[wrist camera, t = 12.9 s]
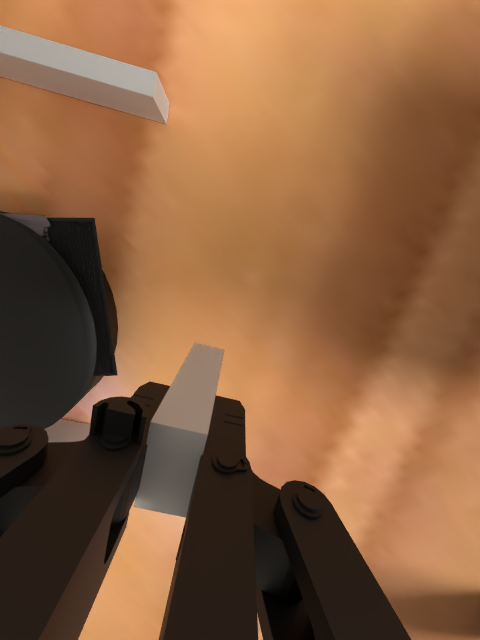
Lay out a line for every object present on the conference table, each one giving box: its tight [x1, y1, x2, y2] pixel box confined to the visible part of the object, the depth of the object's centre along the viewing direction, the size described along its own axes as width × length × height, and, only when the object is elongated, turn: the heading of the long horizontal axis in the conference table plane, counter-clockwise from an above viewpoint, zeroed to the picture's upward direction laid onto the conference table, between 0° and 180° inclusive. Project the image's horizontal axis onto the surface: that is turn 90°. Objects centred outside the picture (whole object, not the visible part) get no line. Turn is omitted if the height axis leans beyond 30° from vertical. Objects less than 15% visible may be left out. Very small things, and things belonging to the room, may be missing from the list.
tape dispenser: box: [0, 211, 118, 429], centre depth 23 cm, size 14×18×8 cm
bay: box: [0, 25, 170, 442], centre depth 23 cm, size 33×20×4 cm, turn 166°
